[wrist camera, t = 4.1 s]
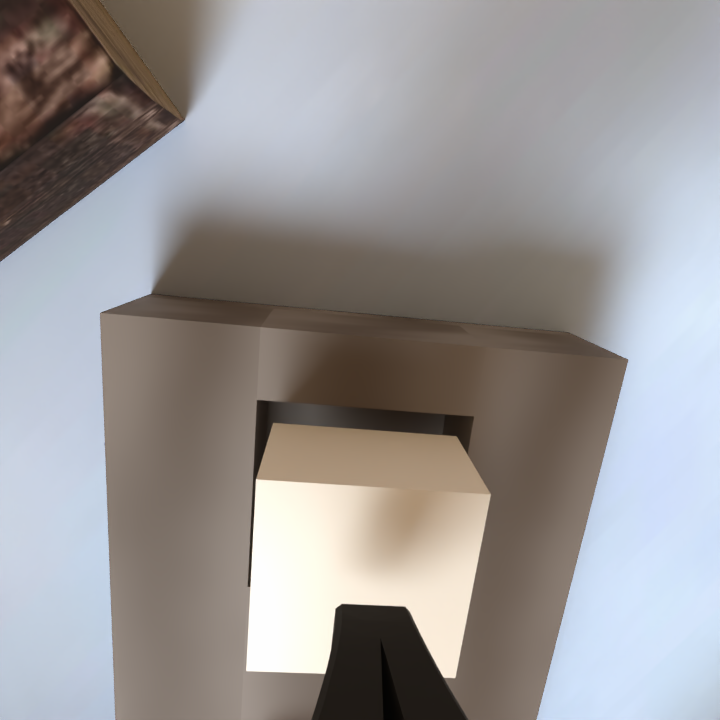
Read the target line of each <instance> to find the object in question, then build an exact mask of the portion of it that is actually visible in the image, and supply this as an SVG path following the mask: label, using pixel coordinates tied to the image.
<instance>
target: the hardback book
mask: <svg viewBox="0 0 720 720" xmlns="http://www.w3.org/2000/svg"><path fill="white" fill-rule="evenodd" d="M183 121H184V119H183V117H182V116H181V114H180V113H179V112H178V110H177V109H176V107H175V106H174V105H173V103H172V102H171V100H170V99H169V98H168V96H167V95H166V93H165V92H164V91H163V89H162V88H161V86H160V85H159V84H158V82H157V81H156V79H155V78H154V77H153V75H152V74H151V72H150V71H149V70H148V68H147V67H146V65H145V64H144V63H143V61H142V60H141V58H140V57H139V56H138V54H137V53H136V51H135V50H134V48H133V47H132V46H131V44H130V43H129V41H128V40H127V39H126V37H125V36H124V34H123V33H122V32H121V30H120V29H119V27H118V26H117V25H116V23H115V22H114V20H113V19H112V18H111V16H110V15H109V13H108V12H107V11H106V9H105V8H104V6H103V5H102V4H101V2H100V1H99V0H0V261H2V260H3V259H4V258H6V257H7V256H8V255H9V254H11V253H12V252H13V251H15V250H16V249H17V248H19V247H20V246H21V245H23V244H24V243H25V242H26V241H28V240H29V239H30V238H32V237H33V236H34V235H36V234H37V233H38V232H39V231H41V230H42V229H43V228H45V227H46V226H47V225H49V224H50V223H51V222H52V221H54V220H55V219H56V218H58V217H59V216H60V215H62V214H63V213H64V212H66V211H67V210H68V209H70V208H71V207H72V206H74V205H75V204H76V203H78V202H79V201H80V200H82V199H83V198H84V197H85V196H87V195H88V194H89V193H91V192H92V191H93V190H95V189H96V188H97V187H99V186H100V185H101V184H102V183H104V182H105V181H106V180H108V179H109V178H110V177H112V176H113V175H114V174H115V173H117V172H118V171H119V170H121V169H122V168H123V167H125V166H126V165H127V164H128V163H130V162H131V161H132V160H134V159H135V158H136V157H137V156H139V155H140V154H141V153H143V152H144V151H145V150H147V149H148V148H149V147H150V146H152V145H153V144H154V143H156V142H157V141H158V140H160V139H161V138H162V137H163V136H165V135H166V134H167V133H169V132H170V131H171V130H173V129H174V128H175V127H176V126H178V125H179V124H180V123H182V122H183Z"/></svg>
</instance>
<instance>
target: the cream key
mask: <svg viewBox="0 0 720 720" xmlns="http://www.w3.org/2000/svg"><path fill="white" fill-rule="evenodd" d="M490 496H491V494H490V492H489V490H488V489H487V487H486V485H485V484H484V482H483V480H482V479H481V477H480V475H479V473H478V472H477V470H476V468H475V467H474V465H473V463H472V462H471V460H470V458H469V456H468V455H467V453H466V451H465V450H464V448H463V446H462V445H461V443H460V441H459V439H458V438H457V436H446V435H433V434H419V433H405V432H392V431H378V430H364V429H351V428H337V427H323V426H310V425H296V424H283V423H273V425H272V428H271V432H270V435H269V438H268V442H267V445H266V448H265V452H264V455H263V458H262V461H261V465H260V468H259V471H258V475H257V478H256V490H255V510H254V529H253V549H252V568H251V587H250V607H249V626H248V646H247V665H246V671H257V672H287V673H317V674H325V673H326V669H327V665H328V661H329V656H330V652H331V645H332V636H333V626H334V617H335V608H337V607H338V606H340V605H341V604H359V605H382V606H405V607H406V608H407V609H408V610H409V611H410V613H411V615H412V618H413V620H414V622H415V624H416V626H417V628H418V630H419V632H420V634H421V636H422V638H423V640H424V642H425V644H426V646H427V648H428V650H429V652H430V654H431V655H432V657H433V659H434V661H435V663H436V665H437V667H438V668H439V670H440V672H441V674H442V676H443V677H444V678H455V677H456V672H457V667H458V662H459V657H460V651H461V646H462V641H463V636H464V631H465V626H466V620H467V615H468V610H469V605H470V600H471V595H472V589H473V584H474V579H475V574H476V569H477V564H478V558H479V553H480V548H481V543H482V538H483V533H484V527H485V522H486V517H487V512H488V507H489V502H490Z"/></svg>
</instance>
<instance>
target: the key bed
mask: <svg viewBox="0 0 720 720" xmlns="http://www.w3.org/2000/svg"><path fill="white" fill-rule="evenodd" d="M100 324H101V351H102V377H103V403H104V430H105V456H106V482H107V509H108V535H109V561H110V588H111V614H112V640H113V667H114V693H115V719H116V720H311V719H312V716H313V713H314V710H315V707H316V704H317V700H318V697H319V693H320V690H321V686H322V683H323V680H324V676H325V674H317V673H287V672H257V671H246V665H247V646H248V626H249V607H250V587H251V568H252V549H253V529H254V510H255V490H256V478H257V475H258V471H259V468H260V465H261V461H262V458H263V455H264V452H265V448H266V445H267V442H268V438H269V435H270V432H271V428H272V425H273V423H283V424H296V425H310V426H323V427H337V428H351V429H364V430H378V431H392V432H405V433H419V434H433V435H446V436H457V438H458V439H459V441H460V443H461V445H462V446H463V448H464V450H465V451H466V453H467V455H468V456H469V458H470V460H471V462H472V463H473V465H474V467H475V468H476V470H477V472H478V473H479V475H480V477H481V479H482V480H483V482H484V484H485V485H486V487H487V489H488V490H489V492H490V494H491V496H490V502H489V507H488V512H487V517H486V522H485V527H484V533H483V538H482V543H481V548H480V553H479V558H478V564H477V569H476V574H475V579H474V584H473V589H472V595H471V600H470V605H469V610H468V615H467V620H466V626H465V631H464V636H463V641H462V646H461V651H460V657H459V662H458V667H457V672H456V677H455V678H444V679H445V681H446V683H447V684H448V686H449V688H450V690H451V691H452V693H453V695H454V696H455V698H456V700H457V701H458V703H459V705H460V706H461V708H462V710H463V711H464V713H465V715H466V716H467V718H468V720H536V719H537V715H538V711H539V707H540V703H541V699H542V695H543V691H544V687H545V684H546V680H547V676H548V672H549V668H550V664H551V660H552V656H553V652H554V648H555V644H556V640H557V637H558V633H559V629H560V625H561V621H562V617H563V613H564V609H565V605H566V601H567V597H568V594H569V590H570V586H571V582H572V578H573V574H574V570H575V566H576V562H577V558H578V554H579V550H580V547H581V543H582V539H583V535H584V531H585V527H586V523H587V519H588V515H589V511H590V507H591V504H592V500H593V496H594V492H595V488H596V484H597V480H598V476H599V472H600V468H601V464H602V460H603V457H604V453H605V449H606V445H607V441H608V437H609V433H610V429H611V425H612V421H613V417H614V414H615V410H616V406H617V402H618V398H619V394H620V390H621V386H622V382H623V378H624V374H625V370H626V367H627V363H628V359H626V358H623V357H621V356H619V355H617V354H615V353H612V352H610V351H608V350H606V349H604V348H601V347H599V346H597V345H595V344H593V343H590V342H588V341H586V340H584V339H581V338H579V337H577V336H575V335H573V334H570V333H567V332H556V331H545V330H534V329H523V328H513V327H502V326H491V325H480V324H469V323H458V322H447V321H437V320H426V319H415V318H404V317H393V316H382V315H372V314H361V313H350V312H339V311H328V310H317V309H306V308H296V307H285V306H274V305H263V304H252V303H241V302H230V301H220V300H209V299H198V298H187V297H176V296H165V295H155V294H149V295H147V296H144V297H141V298H139V299H136V300H133V301H131V302H128V303H125V304H123V305H120V306H117V307H115V308H112V309H109V310H107V311H104V312H101V313H100Z"/></svg>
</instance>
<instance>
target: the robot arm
mask: <svg viewBox="0 0 720 720" xmlns="http://www.w3.org/2000/svg"><path fill="white" fill-rule="evenodd" d="M311 720H468V718H467V716H466V715H465V713H464V711H463V710H462V708H461V706H460V705H459V703H458V701H457V700H456V698H455V696H454V695H453V693H452V691H451V690H450V688H449V686H448V684H447V683H446V681H445V679H444V677H443V676H442V674H441V672H440V670H439V668H438V667H437V665H436V663H435V661H434V659H433V657H432V655H431V654H430V652H429V650H428V648H427V646H426V644H425V642H424V640H423V638H422V636H421V634H420V632H419V630H418V628H417V626H416V624H415V622H414V620H413V618H412V615H411V613H410V611H409V610H408V609H407V608H406V607H405V606H382V605H359V604H341V605H340V606H338V607H337V608H335V617H334V626H333V636H332V645H331V652H330V656H329V661H328V665H327V669H326V673H325V676H324V680H323V683H322V686H321V690H320V693H319V697H318V700H317V704H316V707H315V710H314V713H313V716H312V719H311Z"/></svg>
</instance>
